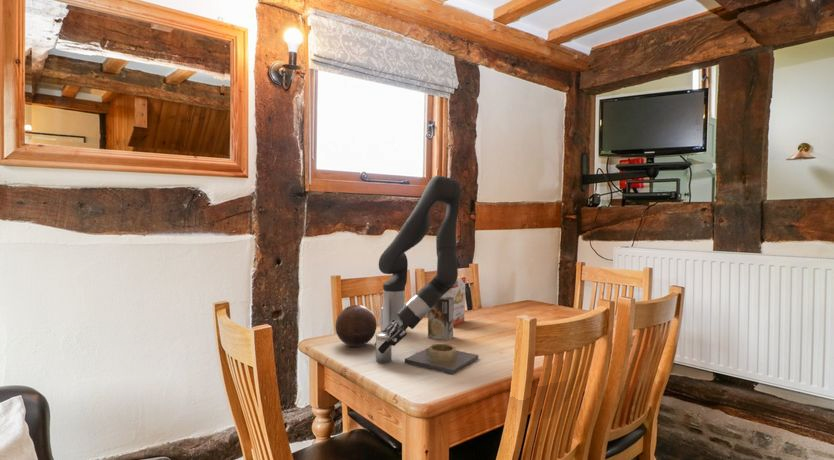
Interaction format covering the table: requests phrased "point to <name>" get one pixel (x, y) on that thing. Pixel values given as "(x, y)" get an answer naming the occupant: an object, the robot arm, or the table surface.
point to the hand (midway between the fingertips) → (378, 348)
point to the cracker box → (458, 299)
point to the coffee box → (441, 319)
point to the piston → (387, 355)
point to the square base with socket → (442, 359)
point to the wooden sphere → (355, 325)
